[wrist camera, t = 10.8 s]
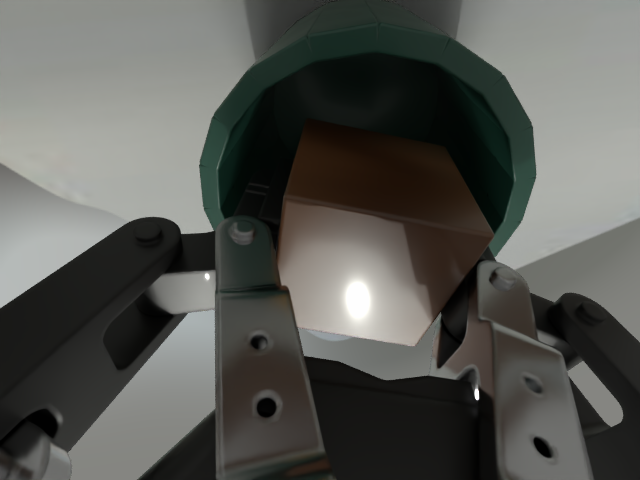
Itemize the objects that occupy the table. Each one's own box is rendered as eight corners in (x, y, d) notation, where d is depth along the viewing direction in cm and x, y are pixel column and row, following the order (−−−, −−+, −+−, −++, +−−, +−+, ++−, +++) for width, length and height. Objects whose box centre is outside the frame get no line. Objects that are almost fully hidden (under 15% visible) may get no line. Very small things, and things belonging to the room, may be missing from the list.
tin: (229, 106, 19) (142, 205, 11) (366, -66, 14) (394, -121, 6) (346, 212, 23) (345, 338, 15) (482, 113, 18) (589, 224, 10)
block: (289, 228, 13) (267, 324, 9) (305, 116, 10) (283, 195, 6) (397, 248, 13) (416, 348, 10) (446, 145, 10) (497, 236, 7)
